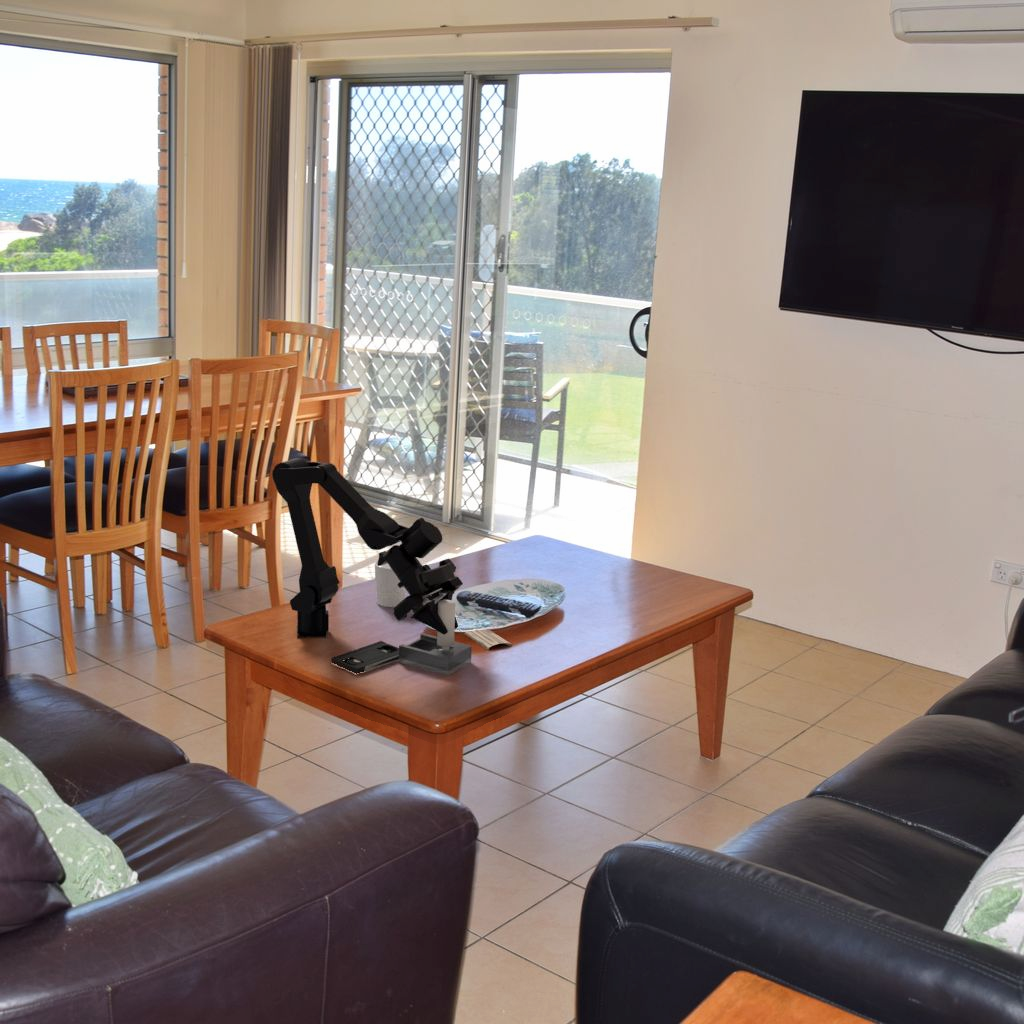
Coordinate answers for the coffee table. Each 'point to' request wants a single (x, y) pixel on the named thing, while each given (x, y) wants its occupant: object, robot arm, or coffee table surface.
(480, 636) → the newspaper
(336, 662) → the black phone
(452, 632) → the post
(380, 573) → the white cup
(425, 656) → the keyhole plate
